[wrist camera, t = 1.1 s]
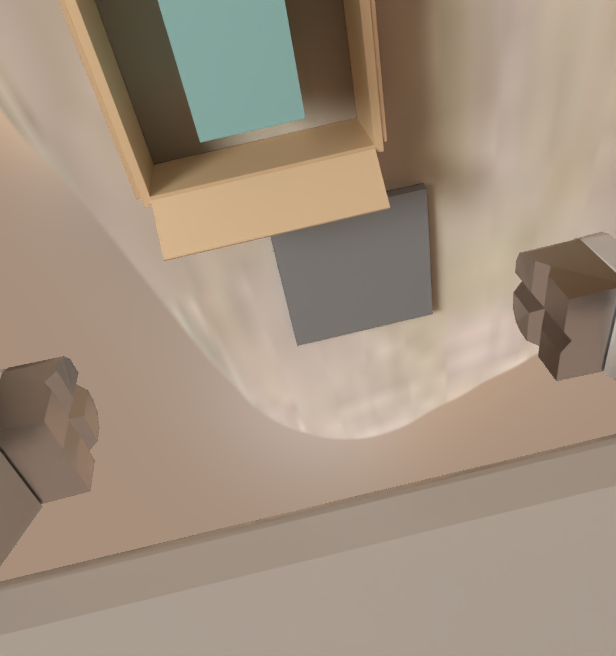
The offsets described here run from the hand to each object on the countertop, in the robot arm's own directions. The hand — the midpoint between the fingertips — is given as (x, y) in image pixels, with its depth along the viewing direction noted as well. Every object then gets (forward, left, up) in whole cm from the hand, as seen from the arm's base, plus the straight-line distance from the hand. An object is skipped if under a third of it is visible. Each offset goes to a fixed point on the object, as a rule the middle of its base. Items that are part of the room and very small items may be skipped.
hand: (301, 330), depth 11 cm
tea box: (0, 0, -28) cm, 28 cm away
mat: (-5, +18, -28) cm, 34 cm away
